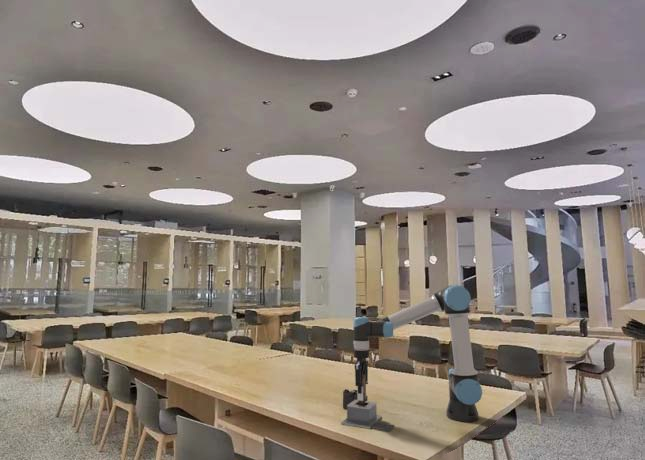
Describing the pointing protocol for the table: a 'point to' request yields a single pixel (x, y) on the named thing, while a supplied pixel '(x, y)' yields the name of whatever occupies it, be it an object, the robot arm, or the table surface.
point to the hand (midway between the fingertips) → (361, 399)
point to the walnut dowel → (363, 393)
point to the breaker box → (361, 414)
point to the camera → (349, 397)
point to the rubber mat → (383, 427)
